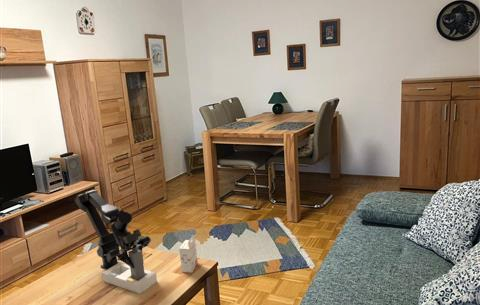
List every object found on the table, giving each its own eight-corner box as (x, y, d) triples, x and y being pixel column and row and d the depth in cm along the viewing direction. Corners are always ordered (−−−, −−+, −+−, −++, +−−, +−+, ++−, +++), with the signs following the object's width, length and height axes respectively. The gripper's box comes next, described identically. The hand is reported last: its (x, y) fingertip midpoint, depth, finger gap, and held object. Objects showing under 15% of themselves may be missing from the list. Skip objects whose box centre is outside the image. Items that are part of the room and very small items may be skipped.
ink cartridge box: (187, 262, 181) (184, 233, 178) (197, 263, 180) (195, 233, 177) (181, 272, 173) (178, 242, 169) (192, 273, 172) (188, 242, 168)
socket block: (103, 281, 170) (101, 272, 169) (120, 270, 178) (119, 261, 177) (140, 293, 159) (138, 284, 158) (157, 281, 167) (155, 272, 166)
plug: (132, 279, 165) (127, 249, 162) (140, 276, 168) (136, 246, 165) (137, 283, 162) (132, 252, 159) (145, 279, 165) (141, 248, 162)
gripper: (105, 233, 156) (123, 267, 151) (146, 218, 169) (163, 249, 164) (99, 245, 163) (116, 278, 158) (138, 230, 176) (155, 260, 171)
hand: (138, 266), depth 163 cm, fingers closed on plug, 4 cm apart
